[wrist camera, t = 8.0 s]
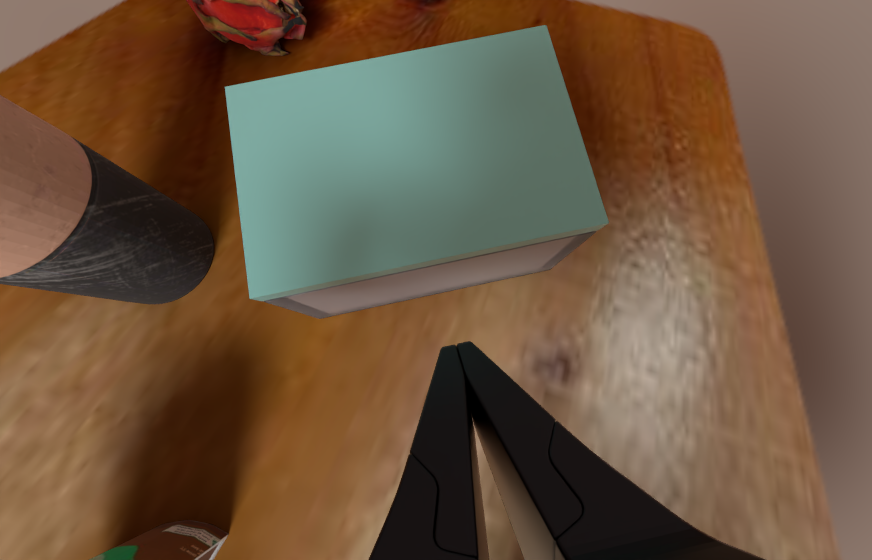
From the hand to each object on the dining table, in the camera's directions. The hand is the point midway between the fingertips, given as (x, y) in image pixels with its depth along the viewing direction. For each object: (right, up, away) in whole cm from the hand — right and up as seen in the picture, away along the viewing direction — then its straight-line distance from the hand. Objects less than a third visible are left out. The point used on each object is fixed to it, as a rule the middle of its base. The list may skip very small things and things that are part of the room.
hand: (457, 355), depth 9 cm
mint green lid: (-2, +8, +7) cm, 11 cm away
